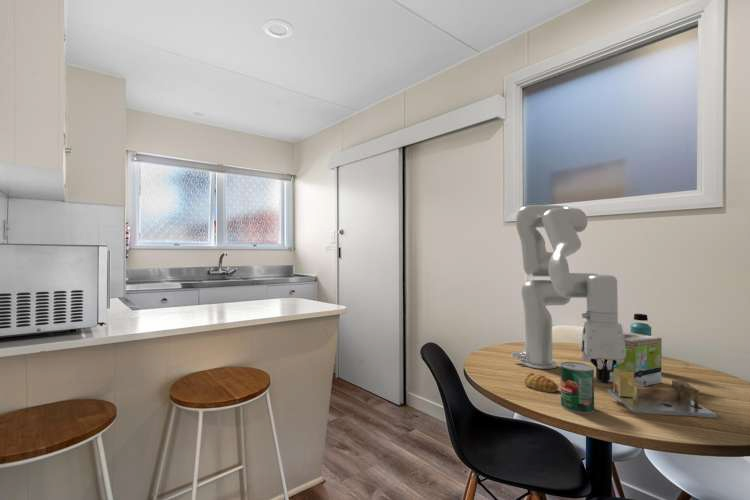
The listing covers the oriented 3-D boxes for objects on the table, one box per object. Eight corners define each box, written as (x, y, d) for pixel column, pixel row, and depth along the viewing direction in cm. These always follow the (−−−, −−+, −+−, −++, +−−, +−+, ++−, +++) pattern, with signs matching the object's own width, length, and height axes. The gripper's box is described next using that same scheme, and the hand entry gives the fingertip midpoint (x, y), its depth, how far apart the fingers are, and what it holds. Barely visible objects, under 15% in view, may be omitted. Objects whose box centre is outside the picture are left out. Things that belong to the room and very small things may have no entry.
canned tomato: (600, 409, 97) (600, 367, 97) (584, 416, 92) (584, 372, 93) (570, 399, 103) (570, 360, 104) (554, 405, 99) (554, 364, 99)
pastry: (563, 390, 111) (562, 378, 111) (550, 395, 107) (550, 382, 107) (534, 382, 119) (534, 370, 119) (521, 386, 115) (521, 374, 115)
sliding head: (628, 402, 98) (628, 376, 98) (613, 391, 106) (613, 368, 107) (643, 403, 98) (643, 377, 98) (627, 392, 106) (627, 368, 106)
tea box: (636, 390, 111) (636, 341, 112) (603, 380, 120) (602, 335, 121) (662, 382, 118) (662, 336, 119) (629, 374, 127) (628, 331, 128)
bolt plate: (632, 412, 95) (632, 408, 95) (607, 393, 109) (607, 389, 109) (716, 418, 92) (716, 413, 92) (679, 397, 106) (679, 393, 106)
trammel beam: (629, 403, 98) (629, 386, 98) (614, 392, 106) (614, 377, 107) (702, 408, 95) (702, 390, 96) (681, 396, 104) (681, 380, 104)
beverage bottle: (645, 367, 135) (644, 312, 136) (657, 372, 129) (656, 315, 129) (626, 366, 136) (625, 312, 137) (637, 372, 130) (636, 315, 130)
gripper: (579, 319, 103) (579, 385, 103) (637, 320, 101) (638, 388, 100) (569, 315, 111) (570, 376, 110) (624, 316, 108) (625, 379, 108)
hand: (602, 382), depth 105 cm, fingers closed
